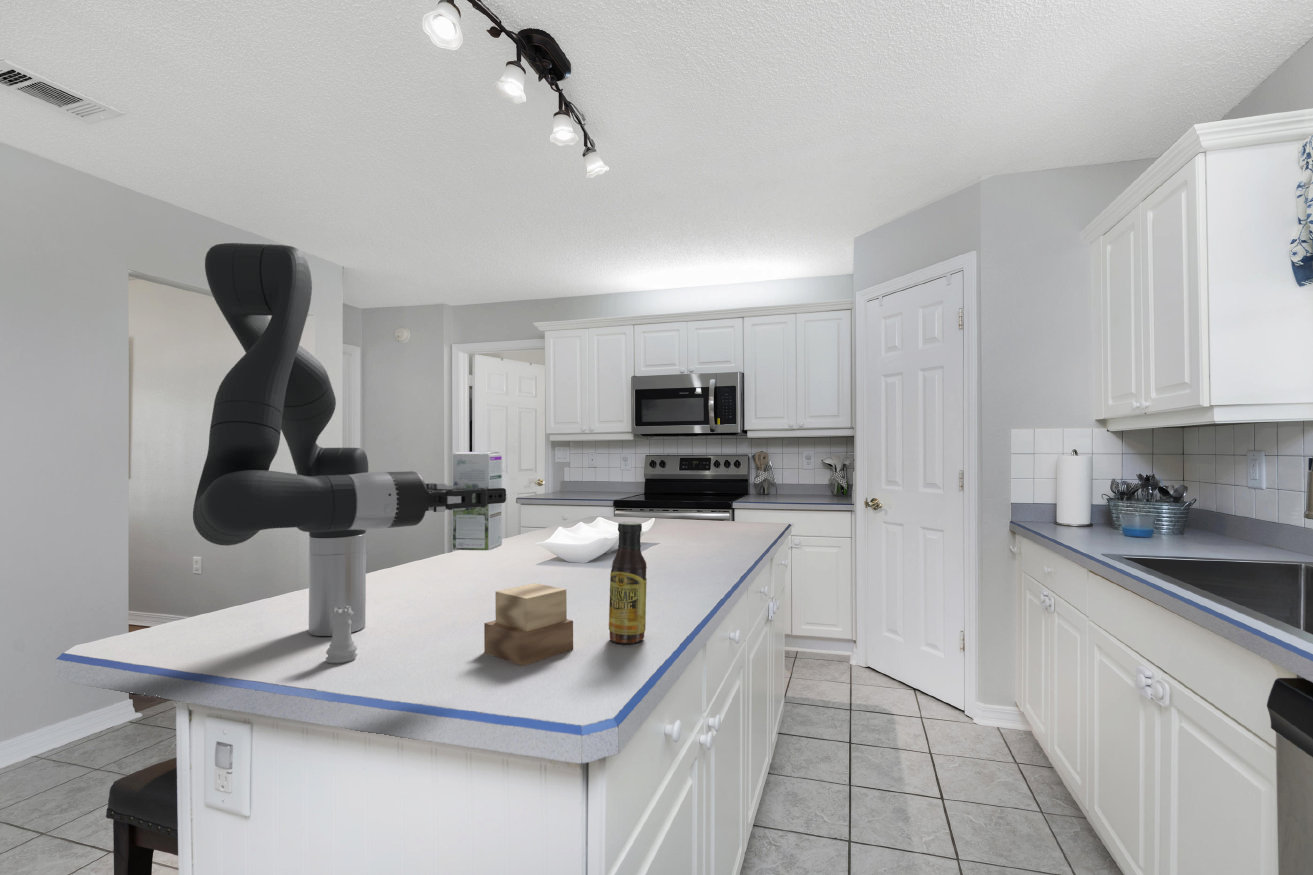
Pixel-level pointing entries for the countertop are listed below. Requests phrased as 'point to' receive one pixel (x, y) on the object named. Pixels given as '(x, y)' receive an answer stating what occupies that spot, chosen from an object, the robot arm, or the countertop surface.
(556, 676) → the countertop surface
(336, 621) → the rook chess piece
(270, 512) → the robot arm
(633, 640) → the sauce bottle
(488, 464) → the syrup box
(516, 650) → the lower block
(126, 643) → the countertop surface
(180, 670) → the countertop surface
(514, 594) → the upper block
